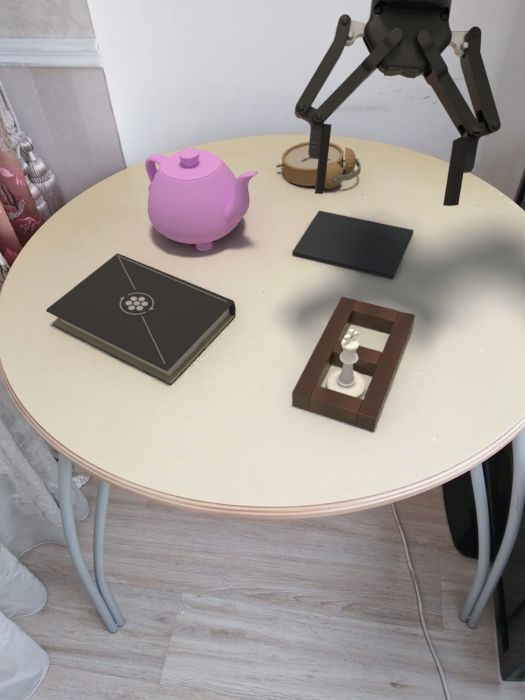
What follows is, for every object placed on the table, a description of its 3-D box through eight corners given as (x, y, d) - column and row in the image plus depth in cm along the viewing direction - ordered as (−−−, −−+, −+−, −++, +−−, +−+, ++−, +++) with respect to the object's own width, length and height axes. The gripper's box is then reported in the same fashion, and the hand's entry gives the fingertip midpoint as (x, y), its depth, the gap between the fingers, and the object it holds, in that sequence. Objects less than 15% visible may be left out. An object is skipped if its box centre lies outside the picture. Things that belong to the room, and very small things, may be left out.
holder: (412, 328, 76) (415, 314, 74) (374, 432, 65) (376, 419, 63) (340, 309, 79) (341, 296, 77) (292, 405, 68) (291, 392, 66)
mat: (412, 234, 90) (413, 229, 90) (393, 279, 83) (393, 275, 82) (318, 214, 95) (319, 210, 94) (292, 255, 88) (292, 251, 87)
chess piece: (374, 392, 69) (383, 335, 61) (340, 409, 67) (346, 352, 60) (350, 366, 72) (356, 309, 64) (318, 382, 70) (320, 325, 63)
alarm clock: (301, 137, 108) (372, 142, 100) (304, 161, 111) (373, 168, 103) (268, 163, 102) (341, 170, 94) (273, 188, 105) (344, 197, 97)
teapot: (286, 225, 93) (284, 147, 83) (232, 278, 85) (223, 198, 75) (182, 191, 102) (169, 116, 92) (124, 235, 93) (103, 159, 83)
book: (237, 315, 79) (235, 299, 77) (171, 385, 71) (167, 370, 69) (123, 267, 88) (118, 251, 86) (52, 325, 80) (45, 309, 77)
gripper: (528, -3, 57) (491, 211, 62) (284, -26, 57) (265, 190, 62) (565, -37, 50) (520, 209, 54) (285, -63, 50) (263, 185, 54)
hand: (384, 199), depth 58 cm, fingers open, 13 cm apart
